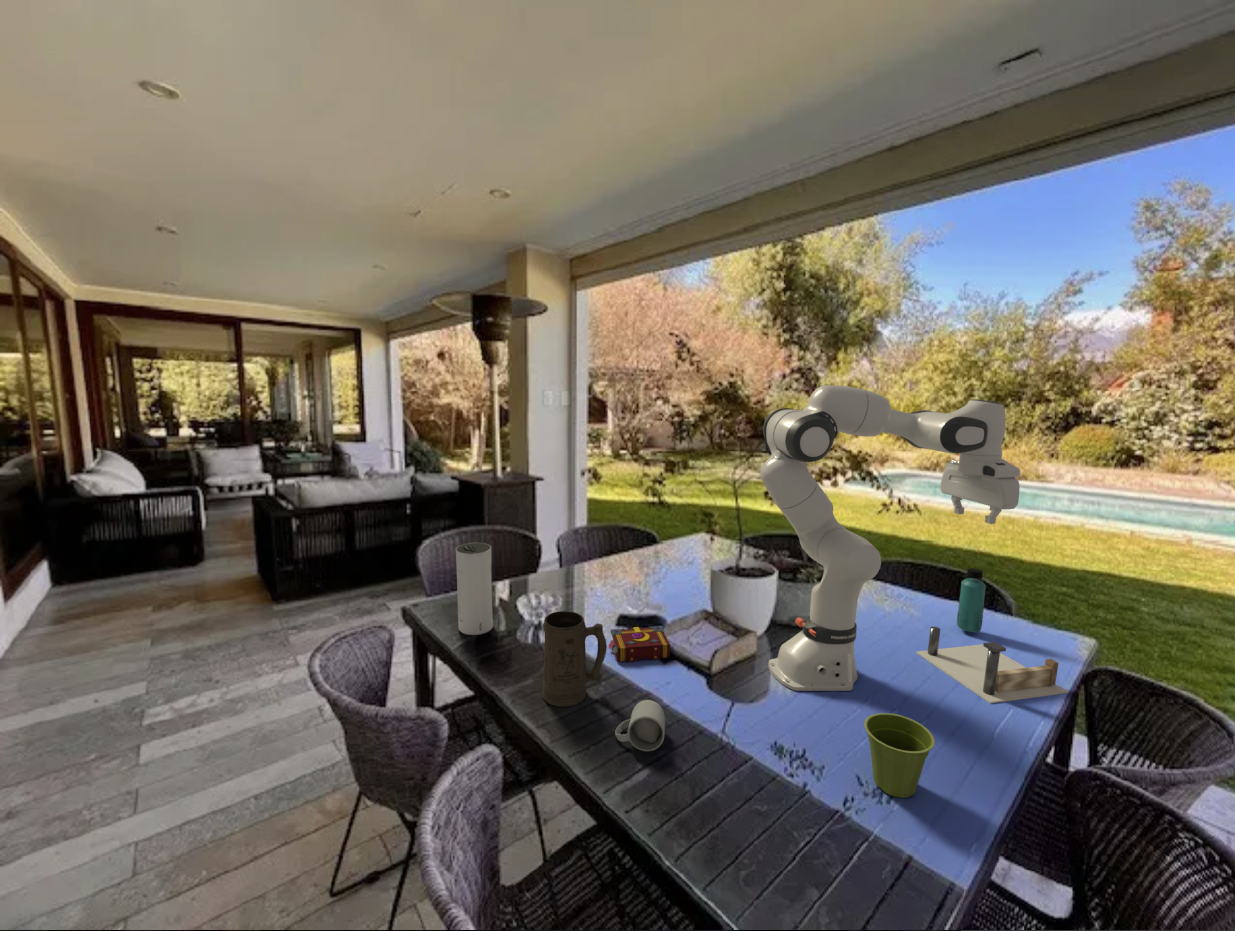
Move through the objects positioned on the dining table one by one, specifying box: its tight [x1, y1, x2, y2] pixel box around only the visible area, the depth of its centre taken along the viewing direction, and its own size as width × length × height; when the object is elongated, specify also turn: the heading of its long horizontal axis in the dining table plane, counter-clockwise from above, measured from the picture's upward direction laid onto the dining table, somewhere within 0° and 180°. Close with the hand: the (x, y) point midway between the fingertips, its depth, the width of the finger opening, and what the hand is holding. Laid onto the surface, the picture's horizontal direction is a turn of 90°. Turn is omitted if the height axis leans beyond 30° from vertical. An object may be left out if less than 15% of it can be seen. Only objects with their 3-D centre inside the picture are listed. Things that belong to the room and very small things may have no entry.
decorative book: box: [607, 625, 671, 663], centre depth 155 cm, size 11×16×5 cm
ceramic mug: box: [614, 699, 666, 752], centre depth 117 cm, size 11×8×8 cm
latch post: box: [927, 626, 941, 656], centre depth 153 cm, size 2×2×8 cm
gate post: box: [982, 641, 1007, 695], centre depth 134 cm, size 3×3×13 cm
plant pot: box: [863, 712, 936, 799], centre depth 104 cm, size 12×12×11 cm
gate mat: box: [915, 643, 1070, 704], centre depth 146 cm, size 23×24×1 cm
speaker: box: [455, 542, 494, 636], centre depth 166 cm, size 11×10×26 cm
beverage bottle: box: [956, 568, 987, 633], centre depth 166 cm, size 6×7×20 cm
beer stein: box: [542, 610, 608, 708], centre depth 133 cm, size 15×11×20 cm
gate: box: [995, 658, 1060, 692], centre depth 137 cm, size 17×2×6 cm, turn 102°
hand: (973, 518), depth 140 cm, fingers open, 8 cm apart
